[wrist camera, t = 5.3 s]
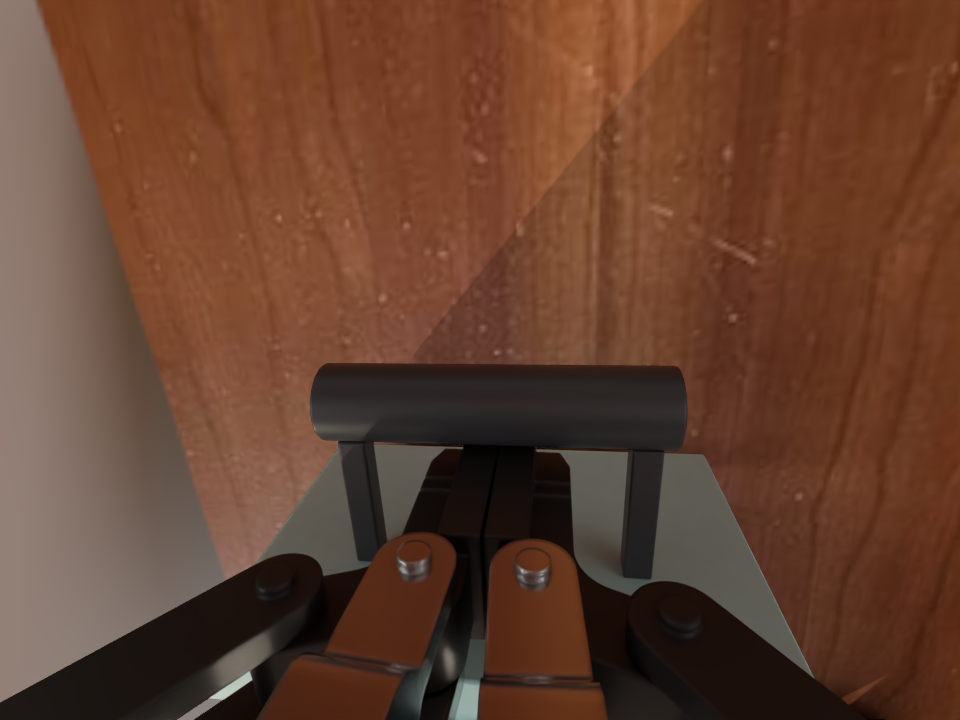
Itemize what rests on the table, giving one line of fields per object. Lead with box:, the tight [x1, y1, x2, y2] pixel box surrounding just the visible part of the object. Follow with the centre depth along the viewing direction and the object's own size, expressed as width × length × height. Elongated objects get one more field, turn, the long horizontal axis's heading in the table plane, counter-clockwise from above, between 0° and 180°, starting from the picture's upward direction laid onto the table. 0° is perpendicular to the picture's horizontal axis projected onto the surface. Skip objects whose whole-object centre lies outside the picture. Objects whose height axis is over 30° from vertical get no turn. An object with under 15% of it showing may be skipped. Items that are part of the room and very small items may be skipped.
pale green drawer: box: [210, 363, 815, 720], centre depth 14 cm, size 18×11×8 cm, turn 3°
